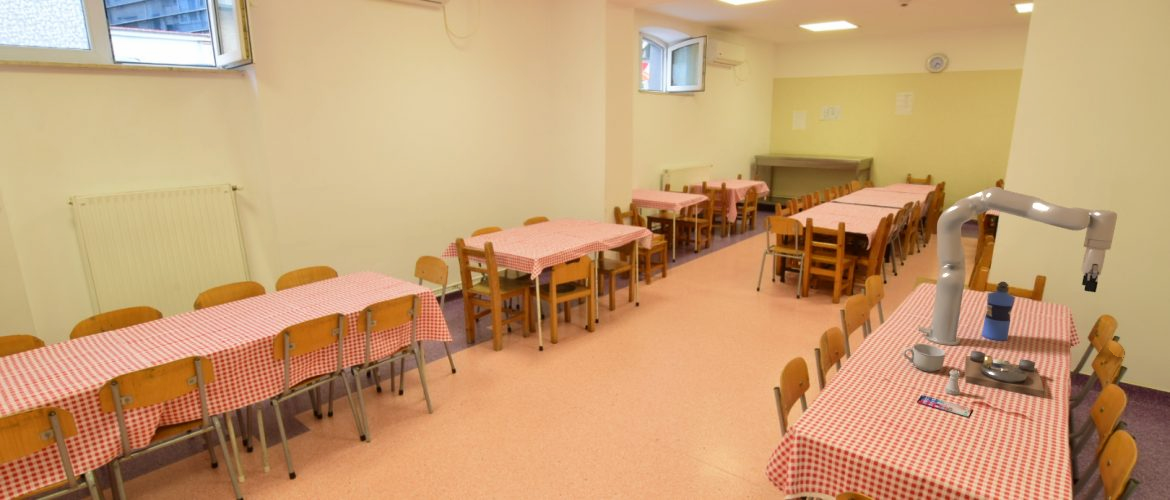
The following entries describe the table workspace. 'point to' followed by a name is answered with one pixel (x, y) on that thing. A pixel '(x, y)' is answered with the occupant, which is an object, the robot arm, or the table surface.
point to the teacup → (926, 357)
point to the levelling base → (976, 377)
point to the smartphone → (945, 406)
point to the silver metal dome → (1002, 372)
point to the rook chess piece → (953, 383)
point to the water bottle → (998, 313)
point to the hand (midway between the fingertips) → (1088, 288)
